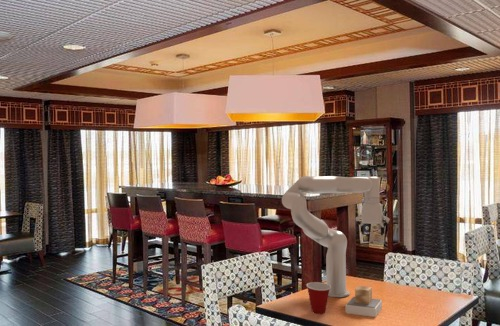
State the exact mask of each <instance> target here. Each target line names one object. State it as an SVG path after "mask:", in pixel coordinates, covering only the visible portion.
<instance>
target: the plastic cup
mask: <svg viewBox="0 0 500 326" xmlns="http://www.w3.org/2000/svg"><path fill="white" fill-rule="evenodd" d="M305 286H306V288H307V291H308V292H307V293H308V297H309V303H310V306H311V307H310V309H311V313H312V314H316V315H322V314H325V313H326V311H327V310H326V309H327V304H328V299H329V298H328V297H329V296H328V293H329V290H330V288H331V286H330V285H328V284H327V283H325V282H321V281H320V282H318V281H317V282H316V281H313V282H308V283H306V284H305Z"/></svg>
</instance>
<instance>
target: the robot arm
mask: <svg viewBox="0 0 500 326" xmlns="http://www.w3.org/2000/svg"><path fill="white" fill-rule="evenodd" d="M344 193H345V194H355V193H356V194H357V193H363V194H364V195H363V196H364V197H363V198H361V202H363V203H362V206H361V214H359V215H358V216H356V217H355V221H356V223H357V224H358V225H359V227H360V233H361V235H364V234H365V232H366V231H365V226H364V225H365V224H369V225H370V224H373V225H376V224H377V225H378V224H379V225H380V226H381V227H380V236H384V234H385V227H386V226H387V225H388V224H389V222H390V220H391V219H390V218H389V217H387V216H385V215H384V214H383V209H382V208H383V207H382V204H381V203H380V202H381V201H380V199H381V198H380V178H379V177H378V176H352V177H350V176H349V177H347V176H346V177H345V176H340V175H339V176H336V175H327V176H325V175H324V176H323V175H322V176H321V175H320V176H316V175H315V176H314V175H313V176H312V175H311V176H310V175H309V176H307V175H304V176H301V177H299V179H297V180H296V181H295V182H294V183H293V184H292V185H291V186H290V187H289V188H288V189H287V190H286V191H285V192H284V193H283V195H282V197H281V204H282V206H283V207H284V208H286V209H288V210H290V214H291V218H292V221H293V223H294V224H295V225H296V226H298V227H299V228H300V229H302V232H303V233H304V235H306V236H307V237H308V238H310V239H311V240H313V241H315V242H316V243H318V244H319V245H321V246H323V247H324V248H327V250H326V256H325V257H326V258H325V263H326V266H325V268H326V269H325V271H326V274H325V275H326V284H328V285H330V286H331V288H330V290H329V293H328V297H330V298H344V297H345V298H346V297H348V296H349V295H350V290H348V289H347V262H346V260H347V259H346V258H347V257H346V254H347V245H348V239H347V237H346V235H345V234H344V232H342V231H340V230H337V229H333V228H330V227H329V226H328V225H327V223H326V222H325V221H323V220H322V219H320V218H318V217H317V216H315V215H313V214H312V213H311V212H310V211H309V210H308V208H307V207H308V206H307V205H308V204H307V199H306V197H305V196H306V195H307V194H313V195H315V194H318V195H319V194H344ZM360 219H361V221H360ZM384 220H385V222H383V221H384Z"/></svg>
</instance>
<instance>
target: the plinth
mask: <svg viewBox="0 0 500 326" xmlns="http://www.w3.org/2000/svg"><path fill="white" fill-rule="evenodd" d="M344 307H345V314H349V315H357V316H365V317H371V318H376V317H377V316H378V315H379V313H380V312H381V310H382V309H383V300H381V299H378V298H372V301H371V302H370V304H362V303H355V296H353V297H352V298H350V300H349V301H348V302H347V303H346V304H345V305H344ZM377 314H378V315H377Z"/></svg>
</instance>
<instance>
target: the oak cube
mask: <svg viewBox="0 0 500 326" xmlns="http://www.w3.org/2000/svg"><path fill="white" fill-rule="evenodd" d="M354 297H355V303H362V304H370V302H371V301H372V299H373V287H372V286H362V285H357V286H356V288H355V289H354Z"/></svg>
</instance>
